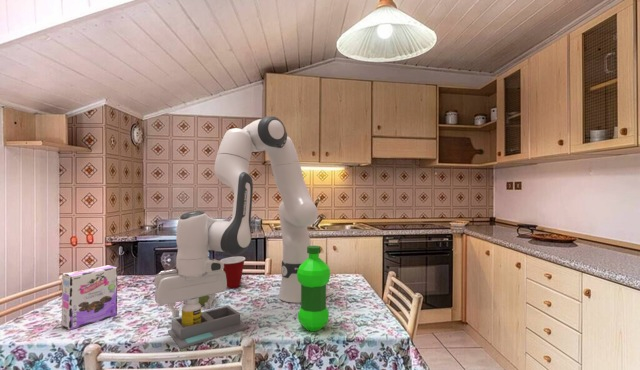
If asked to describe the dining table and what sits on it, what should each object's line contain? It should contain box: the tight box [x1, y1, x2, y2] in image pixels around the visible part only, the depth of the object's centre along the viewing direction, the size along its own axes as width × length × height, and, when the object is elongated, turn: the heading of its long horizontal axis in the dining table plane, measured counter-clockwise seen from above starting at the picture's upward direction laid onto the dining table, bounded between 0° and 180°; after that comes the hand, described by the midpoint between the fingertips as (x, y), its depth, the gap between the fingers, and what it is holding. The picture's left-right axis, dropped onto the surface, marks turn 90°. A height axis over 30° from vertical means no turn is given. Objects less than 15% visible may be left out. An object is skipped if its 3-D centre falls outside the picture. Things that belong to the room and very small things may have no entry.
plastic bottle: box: [297, 245, 331, 332], centre depth 102 cm, size 10×10×25 cm
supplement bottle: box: [181, 297, 202, 327], centre depth 98 cm, size 5×5×10 cm
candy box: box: [61, 264, 118, 330], centre depth 106 cm, size 14×6×16 cm, turn 148°
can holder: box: [167, 305, 250, 349], centre depth 99 cm, size 20×12×4 cm, turn 130°
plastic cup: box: [219, 255, 246, 289], centre depth 142 cm, size 11×11×12 cm
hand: (192, 312), depth 98 cm, fingers open, 8 cm apart
